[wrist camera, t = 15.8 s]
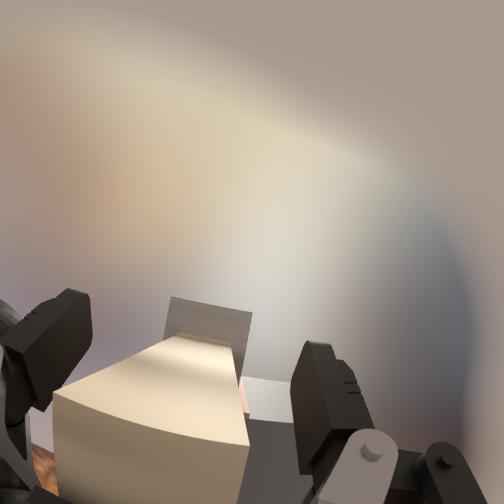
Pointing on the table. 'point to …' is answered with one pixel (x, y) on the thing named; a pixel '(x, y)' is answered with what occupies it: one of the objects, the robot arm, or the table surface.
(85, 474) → the beam
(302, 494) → the pedestal
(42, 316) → the robot arm
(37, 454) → the table surface
